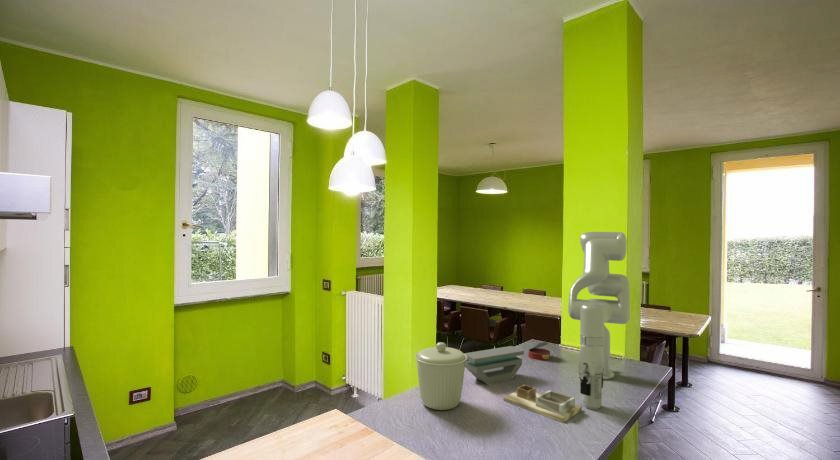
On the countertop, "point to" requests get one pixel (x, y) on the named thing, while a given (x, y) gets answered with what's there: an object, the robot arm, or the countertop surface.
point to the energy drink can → (594, 391)
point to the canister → (440, 376)
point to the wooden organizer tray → (544, 403)
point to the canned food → (539, 352)
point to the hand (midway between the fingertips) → (591, 390)
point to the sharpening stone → (494, 364)
